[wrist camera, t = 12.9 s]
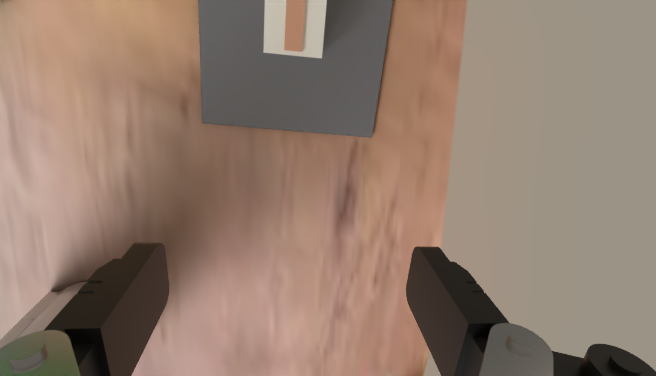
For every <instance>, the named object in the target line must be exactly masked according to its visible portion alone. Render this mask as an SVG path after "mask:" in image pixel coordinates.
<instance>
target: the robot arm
mask: <svg viewBox="0 0 656 376" xmlns="http://www.w3.org/2000/svg"><path fill="white" fill-rule="evenodd" d="M168 295H169V280H168V272H167V263H166V254H165V248H164V245H163V244H162V243H134V244H133V245H132V246H131V248H130V249H129V250H128V251H127V252H126V254H125V255H124V256H123V257H122V259H113V260H112V261H110V262H109V263H107V264H105V265H104V266H102V267H100V268H99V269H97V270H96V272H95V273H94V274H93V275H92V276H91V277H90V278H89V279H88V281H86V282H79V283H76V284H73V285H70V286H68V287H67V288H65V289H63V290H61V291H58V292H49V293H48V294H47V295H46V296H45V297H44V298H43V299H42V300H41V301H40V302H39V303H38V304H36V305H35V306H34V307H33V308H32V309H31V310H30V311H29V312H28V313H27V314H26V315H25V316H24V317H23V318H22V319H21V320H20V321H19V322H18V323H17V324H16V325H15V326H14V327H13V328H12V329H11V330H10V331H9V332H8V333H7V334H6V335H5V336H4V337H3V338H2V339H1V340H0V376H131V375H132V373H133V371H134V369H135V367H136V365H137V363H138V361H139V359H140V357H141V355H142V353H143V351H144V349H145V347H146V345H147V342H148V340H149V338H150V336H151V334H152V332H153V330H154V328H155V326H156V324H157V322H158V320H159V318H160V316H161V314H162V312H163V310H164V308H165V306H166V303H167V300H168ZM406 296H407V301H408V304H409V307H410V309H411V311H412V313H413V315H414V317H415V320H416V322H417V324H418V326H419V328H420V330H421V333H422V335H423V337H424V339H425V341H426V343H427V346H428V348H429V350H430V352H431V354H432V356H433V359H434V361H435V363H436V365H437V367H438V369H439V372H440V374H441V376H656V371H655V370H653V369H652V368H651V367H650V366H649V365H648V364H646V363H645V362H644V361H642V360H641V359H640V358H638V357H636V356H635V355H633V354H631V353H629V352H627V351H625V350H623V349H620V348H617V347H614V346H611V345H607V344H594V345H592V346H590V347H589V348H588V350H587V353H586V355H585V357H584V358H580V357H575V356H571V355H567V354H562V353H558V352H554V351H551V349H550V347H549V346H548V345H547V343H546V342H545V341H544V340H543V339H542V338H540V337H539V336H538V335H537V334H535V333H534V332H532V331H530V330H528V329H526V328H524V327H522V326H519V325H515V324H511V323H509V322H508V321H507V319H506V318H505V317H504V316H503V315H502V313H501V312H500V311H499V309H498V308H497V307H496V306H495V305H494V303H493V302H492V301H491V300H490V298H489V297H488V296H487V294H486V293H484V291H483V290H482V288H481V287H480V286H479V285H478V284H477V283H476V281H475V279H474V278H473V277H472V276H471V274H470V273H469V272H468V271H467V270H465V269H464V268H462V267H461V266H460V265H458V264H457V263H455V262H450V261H449V260H448V258H447V257H446V256H445V254H444V253H443V252H442V250H441V249H440V248H439V247H415V248H414V250H413V253H412V258H411V264H410V269H409V274H408V280H407V285H406Z"/></svg>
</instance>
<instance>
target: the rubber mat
mask: <svg viewBox="0 0 656 376" xmlns="http://www.w3.org/2000/svg"><path fill="white" fill-rule="evenodd" d="M198 4H199V34H200V64H201V94H202V123H205V124H217V125H229V126H241V127H253V128H264V129H276V130H288V131H300V132H312V133H324V134H335V135H347V136H359V137H371V138H372V134H373V127H374V121H375V114H376V108H377V101H378V95H379V88H380V82H381V75H382V69H383V62H384V56H385V49H386V43H387V36H388V30H389V23H390V17H391V10H392V4H393V0H327V5H326V16H325V28H324V40H323V52H322V59H321V58H312V57H302V56H292V55H282V54H272V53H263V51H264V11H265V0H198Z"/></svg>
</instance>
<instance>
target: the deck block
mask: <svg viewBox="0 0 656 376" xmlns="http://www.w3.org/2000/svg"><path fill="white" fill-rule="evenodd" d="M326 5H327V0H265V11H264V51H263V53H272V54H282V55H292V56H302V57H312V58H321V59H322V52H323V40H324V28H325V16H326Z"/></svg>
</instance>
